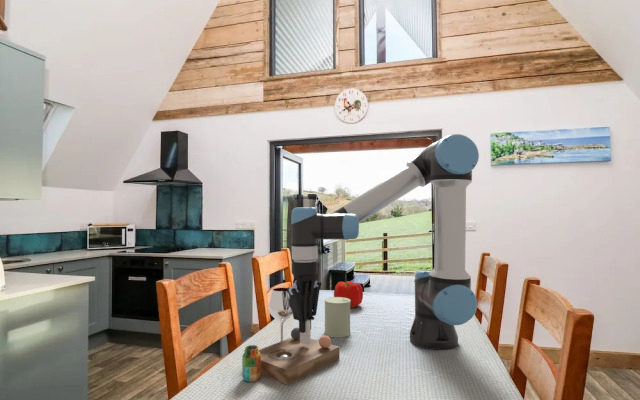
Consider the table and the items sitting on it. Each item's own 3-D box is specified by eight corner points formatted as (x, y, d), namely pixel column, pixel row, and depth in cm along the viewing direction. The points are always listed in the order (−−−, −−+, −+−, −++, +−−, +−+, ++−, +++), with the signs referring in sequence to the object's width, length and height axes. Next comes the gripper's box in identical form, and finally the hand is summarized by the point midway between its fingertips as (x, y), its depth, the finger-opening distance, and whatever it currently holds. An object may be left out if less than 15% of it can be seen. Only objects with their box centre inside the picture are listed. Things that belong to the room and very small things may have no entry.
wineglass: (270, 353, 112) (270, 292, 113) (266, 344, 120) (267, 287, 121) (297, 350, 115) (297, 291, 115) (291, 341, 123) (292, 286, 123)
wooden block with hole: (339, 359, 108) (339, 346, 108) (288, 385, 92) (288, 370, 92) (298, 346, 118) (298, 334, 118) (245, 368, 102) (246, 354, 102)
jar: (261, 375, 98) (261, 344, 98) (259, 383, 93) (259, 350, 93) (243, 375, 98) (244, 344, 98) (240, 383, 93) (240, 350, 93)
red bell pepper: (329, 303, 173) (329, 280, 174) (356, 301, 177) (356, 279, 178) (339, 311, 160) (340, 286, 161) (368, 308, 164) (368, 284, 165)
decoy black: (304, 339, 114) (304, 327, 114) (297, 342, 112) (297, 330, 112) (296, 336, 117) (296, 325, 117) (288, 339, 114) (288, 328, 114)
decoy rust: (333, 347, 107) (333, 335, 107) (326, 351, 105) (326, 338, 105) (324, 344, 110) (324, 332, 110) (316, 348, 107) (316, 335, 107)
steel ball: (290, 371, 102) (294, 357, 103) (283, 368, 99) (287, 354, 101) (281, 368, 104) (285, 355, 105) (273, 365, 101) (277, 351, 103)
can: (348, 338, 126) (348, 302, 126) (321, 336, 128) (322, 301, 128) (352, 329, 135) (352, 296, 135) (326, 328, 137) (326, 295, 137)
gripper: (309, 257, 116) (309, 334, 116) (279, 262, 106) (280, 346, 105) (328, 259, 112) (329, 339, 111) (299, 264, 101) (300, 352, 101)
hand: (305, 342), depth 108 cm, fingers closed
